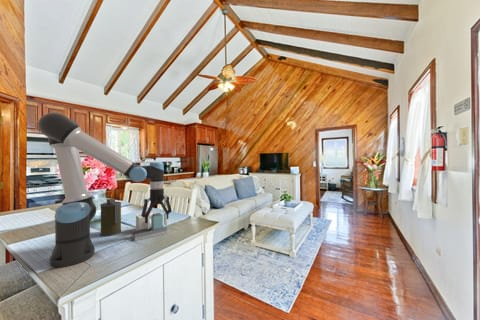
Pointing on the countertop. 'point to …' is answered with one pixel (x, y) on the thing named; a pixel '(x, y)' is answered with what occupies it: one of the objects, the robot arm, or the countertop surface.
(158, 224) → the block
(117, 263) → the countertop surface
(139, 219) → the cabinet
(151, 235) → the rail
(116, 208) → the canister
